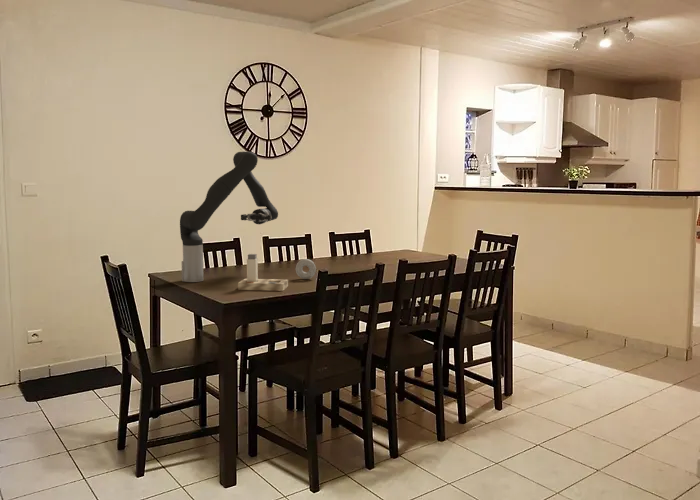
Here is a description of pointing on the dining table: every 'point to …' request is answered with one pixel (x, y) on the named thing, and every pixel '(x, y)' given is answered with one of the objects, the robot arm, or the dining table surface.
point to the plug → (252, 268)
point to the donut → (301, 273)
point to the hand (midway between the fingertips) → (252, 218)
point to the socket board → (264, 284)
